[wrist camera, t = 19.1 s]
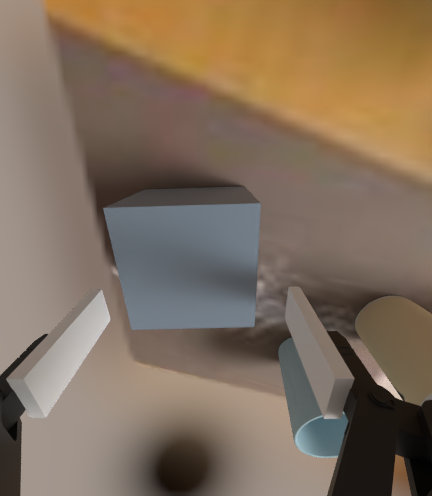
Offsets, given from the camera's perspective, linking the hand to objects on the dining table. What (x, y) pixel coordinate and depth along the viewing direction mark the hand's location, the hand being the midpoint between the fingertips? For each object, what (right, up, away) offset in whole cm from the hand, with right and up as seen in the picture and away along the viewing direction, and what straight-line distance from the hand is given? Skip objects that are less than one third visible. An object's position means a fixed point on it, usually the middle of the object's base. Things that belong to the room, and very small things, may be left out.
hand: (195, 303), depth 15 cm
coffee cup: (+24, -5, +13) cm, 28 cm away
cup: (+13, -11, +16) cm, 23 cm away
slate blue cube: (-1, +5, +9) cm, 10 cm away
